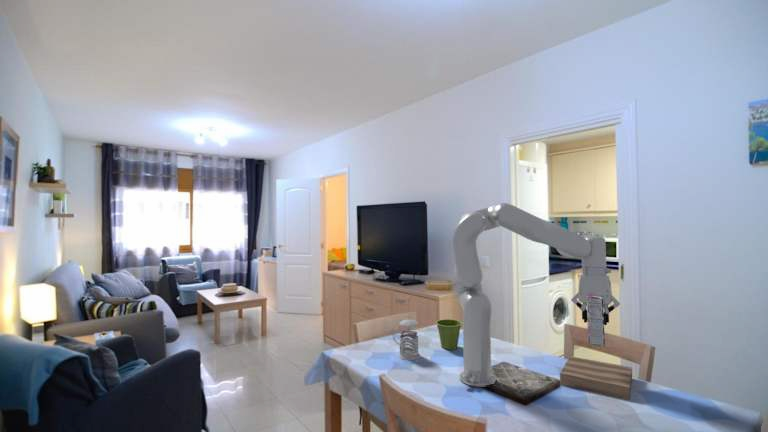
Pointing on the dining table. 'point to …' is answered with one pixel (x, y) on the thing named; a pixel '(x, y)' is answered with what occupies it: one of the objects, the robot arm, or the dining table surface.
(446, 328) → the plant pot
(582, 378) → the walnut stand
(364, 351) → the dining table surface
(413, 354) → the french press
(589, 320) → the candy bar box
